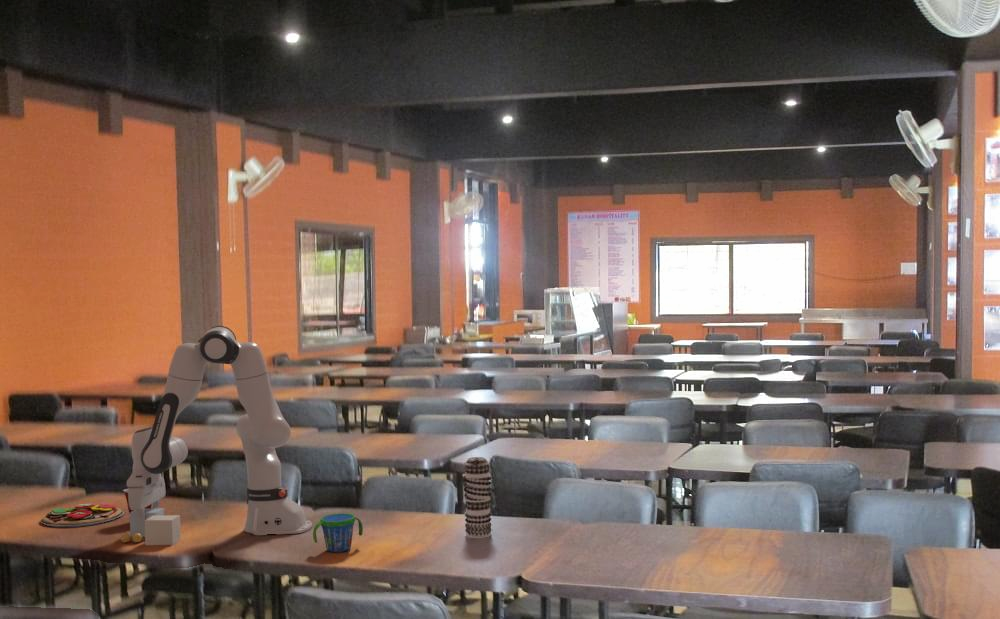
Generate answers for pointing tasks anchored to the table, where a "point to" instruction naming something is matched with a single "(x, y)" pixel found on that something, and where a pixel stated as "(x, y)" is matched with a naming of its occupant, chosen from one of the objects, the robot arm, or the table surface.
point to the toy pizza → (82, 515)
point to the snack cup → (337, 531)
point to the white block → (138, 525)
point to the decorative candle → (477, 498)
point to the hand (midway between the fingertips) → (149, 517)
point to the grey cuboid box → (162, 530)
